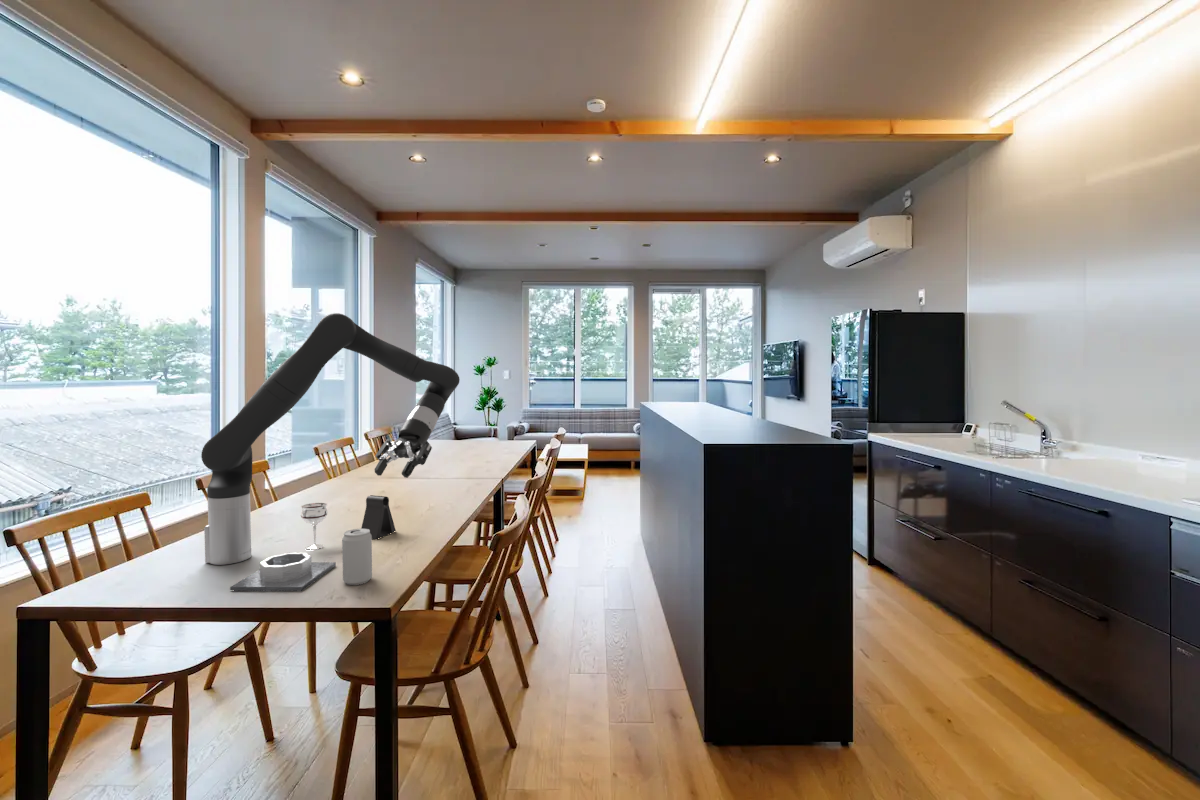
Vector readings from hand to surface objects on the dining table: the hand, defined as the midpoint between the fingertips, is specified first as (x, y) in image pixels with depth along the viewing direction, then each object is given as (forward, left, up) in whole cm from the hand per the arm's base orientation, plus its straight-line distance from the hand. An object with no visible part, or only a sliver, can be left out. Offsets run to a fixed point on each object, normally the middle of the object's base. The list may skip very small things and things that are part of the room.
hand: (390, 474), depth 137 cm
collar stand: (-22, -9, -23) cm, 33 cm away
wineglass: (-27, +14, -24) cm, 39 cm away
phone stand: (-14, +26, -24) cm, 38 cm away
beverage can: (-4, -11, -24) cm, 26 cm away
